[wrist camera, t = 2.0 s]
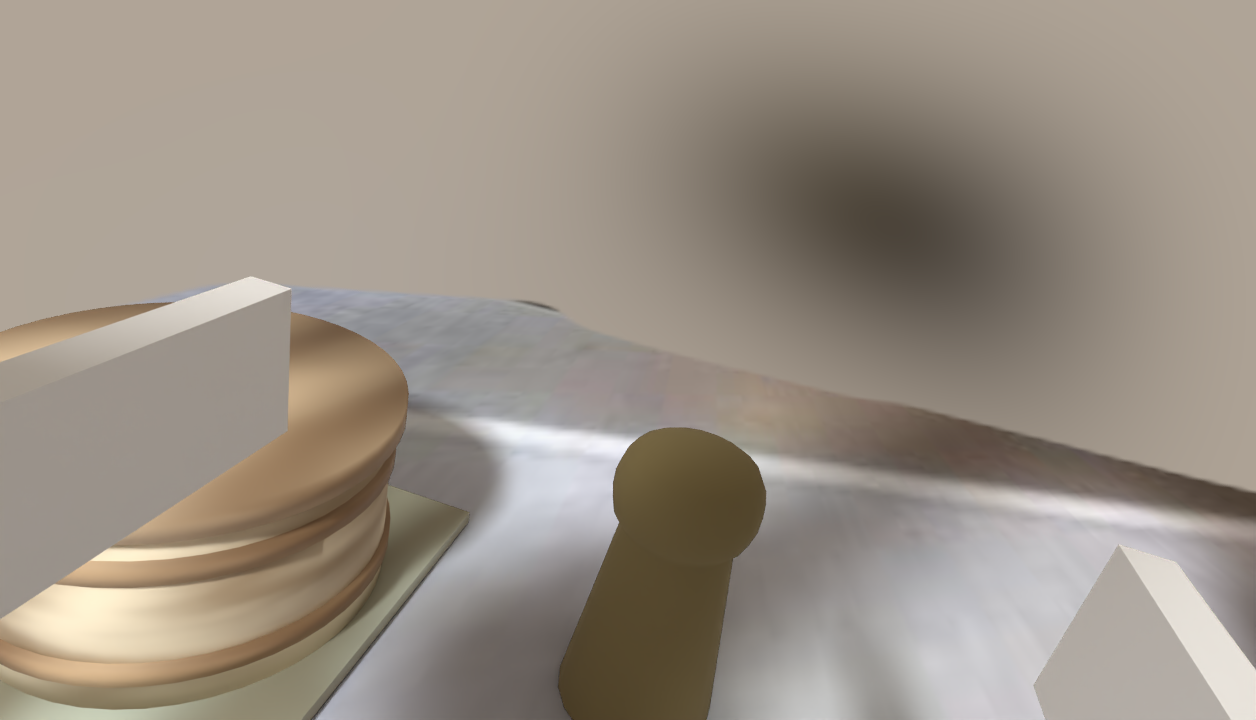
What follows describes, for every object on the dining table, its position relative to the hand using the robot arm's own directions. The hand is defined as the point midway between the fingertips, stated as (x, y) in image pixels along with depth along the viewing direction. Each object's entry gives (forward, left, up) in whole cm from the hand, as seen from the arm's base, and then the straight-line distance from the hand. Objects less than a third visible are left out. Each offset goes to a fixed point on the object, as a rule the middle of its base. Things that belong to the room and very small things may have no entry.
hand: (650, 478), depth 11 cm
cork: (0, -12, -17) cm, 20 cm away
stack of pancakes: (+18, -10, -17) cm, 26 cm away
